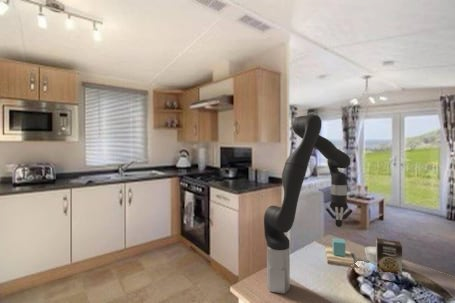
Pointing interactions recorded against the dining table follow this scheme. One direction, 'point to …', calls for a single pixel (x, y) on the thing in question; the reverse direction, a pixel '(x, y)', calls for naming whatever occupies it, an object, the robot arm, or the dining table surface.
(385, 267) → the coffee box
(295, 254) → the dining table surface
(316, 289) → the dining table surface
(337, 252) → the teal toy cube
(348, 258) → the post block
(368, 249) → the ramekin
